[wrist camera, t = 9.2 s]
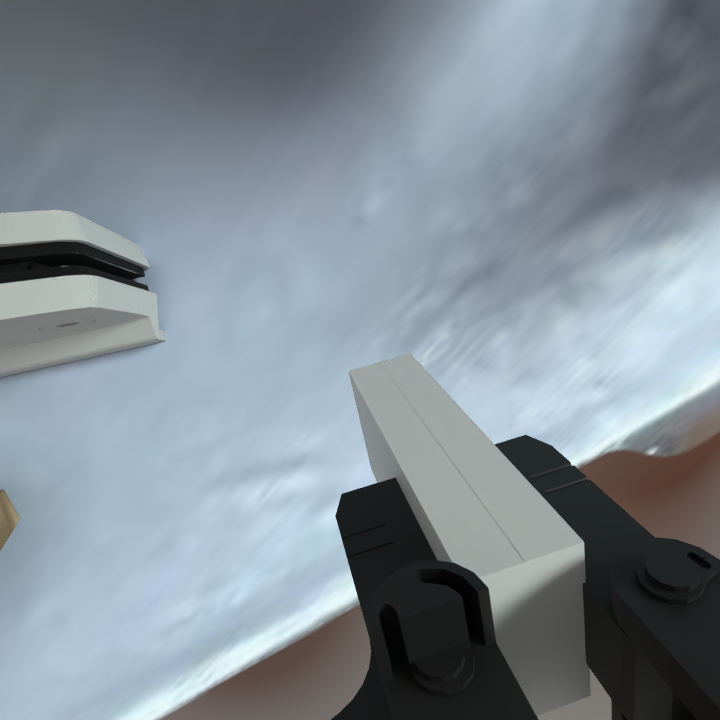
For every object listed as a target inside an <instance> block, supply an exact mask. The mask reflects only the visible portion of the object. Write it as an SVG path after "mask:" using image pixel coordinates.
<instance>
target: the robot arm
mask: <svg viewBox="0 0 720 720" xmlns="http://www.w3.org/2000/svg"><path fill="white" fill-rule="evenodd" d="M349 375H350V379H351V383H352V387H353V392H354V396H355V400H356V405H357V409H358V413H359V418H360V422H361V426H362V431H363V435H364V439H365V443H366V448H367V452H368V456H369V461H370V465H371V469H372V471H373V474H374V476H375V478H376V480H377V483H376V484H372V485H369V486H366V487H363V488H360V489H356V490H353V491H350V492H347V493H343V494H342V495H341V499H340V502H339V506H338V509H337V513H336V519H337V523H338V527H339V530H340V534H341V537H342V541H343V545H344V548H345V552H346V556H347V559H348V563H349V566H350V570H351V574H352V577H353V581H354V584H355V588H356V592H357V595H358V599H359V602H360V606H361V609H362V613H363V617H364V620H365V624H366V627H367V631H368V634H369V638H370V645H371V658H370V666H369V670H368V672H367V675H366V678H365V680H364V683H363V685H362V686H361V688H360V689H359V691H358V693H357V694H356V696H355V697H354V698H353V700H352V701H351V702H350V703H349V704H348V705H347V706H346V707H345V708H344V709H343V710H342V711H341V712H340V713H339V714H338V715H336V716H335V717H334V718H332V719H331V720H538V718H537V716H538V715H541V714H544V713H546V712H548V711H551V710H554V709H556V708H559V707H562V706H564V705H567V704H569V703H572V702H575V701H577V700H580V699H582V698H585V697H587V696H590V695H591V694H590V673H589V672H590V671H589V668H590V669H591V670H592V672H593V673H594V675H595V676H596V678H597V679H598V680H599V682H600V683H601V685H602V686H603V687H604V689H605V690H606V692H607V693H608V695H609V696H610V698H611V702H612V720H720V560H719V559H718V558H716V557H714V556H713V555H711V554H709V553H708V552H706V551H705V550H703V549H701V548H700V547H696V546H694V545H691V544H688V543H685V542H681V541H679V540H676V539H666V538H655V537H654V536H653V535H651V534H650V533H649V532H648V531H647V530H646V529H645V528H644V527H642V526H641V525H640V524H639V523H638V522H637V521H635V519H633V518H632V517H631V516H630V515H629V514H628V513H627V512H626V511H625V510H623V509H622V508H621V507H620V506H619V505H618V504H617V503H615V502H614V501H613V500H612V499H611V498H610V497H609V496H608V495H606V494H605V493H604V492H603V491H602V490H601V489H600V488H599V487H597V486H596V485H595V484H594V483H593V482H592V481H591V480H587V478H586V476H585V475H584V474H583V473H582V472H580V470H578V469H577V468H576V467H575V466H571V463H570V462H569V461H568V460H567V459H566V458H565V457H564V456H563V455H562V454H560V453H559V452H558V451H557V450H556V449H555V448H554V447H553V446H551V445H549V444H546V443H544V442H542V441H539V440H537V439H534V438H532V437H530V436H527V435H524V436H521V437H517V438H514V439H511V440H508V441H505V442H501V443H498V444H495V445H494V444H493V443H492V441H491V440H490V439H489V438H488V437H487V436H486V435H485V434H484V433H483V432H482V431H481V429H480V428H479V427H478V426H477V425H476V424H475V423H474V422H473V421H472V420H471V419H470V418H469V416H468V415H467V414H466V413H465V412H464V411H463V410H462V409H461V408H460V407H459V406H458V405H457V403H456V402H455V401H454V400H453V399H452V398H451V397H450V396H449V395H448V394H447V393H446V392H445V390H444V389H443V388H442V387H441V386H440V385H439V384H438V383H437V382H436V381H435V380H434V379H433V377H432V376H431V375H430V374H429V373H428V372H427V371H426V370H425V369H424V368H423V367H422V365H421V364H420V363H419V362H418V361H417V360H416V359H415V358H414V357H413V356H412V355H411V354H408V355H404V356H400V357H397V358H393V359H390V360H386V361H383V362H379V363H375V364H372V365H368V366H365V367H361V368H358V369H354V370H350V371H349Z"/></svg>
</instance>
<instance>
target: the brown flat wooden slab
mask: <svg viewBox="0 0 720 720" xmlns="http://www.w3.org/2000/svg"><path fill="white" fill-rule="evenodd" d="M19 520H20V518H19V516H18V514H17V512H16V511H15V509H14V507H13V505H12V504H11V502H10V500H9V498H8V496H7V495H6V493H5V491H4V489H3V490H0V551H1V549H2V547H3V546H4V544H5V542H6V541H7V539H8V538H9V536H10V534H11V533H12V531H13V530H14V528H15V526H16V525H17V523H18V522H19Z"/></svg>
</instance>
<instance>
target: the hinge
mask: <svg viewBox="0 0 720 720" xmlns="http://www.w3.org/2000/svg"><path fill="white" fill-rule="evenodd" d="M146 268H150V265H149V263H148V261H147V259H146V257H145V255H144V253H143V251H142V250H141V248H140V246H139V245H138V244H136V243H134V242H132V241H130V240H128V239H126V238H124V237H122V236H120V235H118V234H116V233H114V232H112V231H110V230H108V229H106V228H104V227H102V226H100V225H98V224H96V223H94V222H92V221H90V220H88V219H86V218H84V217H82V216H80V215H78V214H76V213H73V212H70V211H63V210H41V211H24V212H8V213H0V377H4V376H8V375H13V374H17V373H22V372H26V371H31V370H35V369H40V368H44V367H49V366H54V365H58V364H63V363H67V362H72V361H76V360H81V359H85V358H90V357H94V356H99V355H104V354H108V353H113V352H117V351H122V350H126V349H131V348H135V347H140V346H144V345H149V344H154V343H158V342H163V341H166V337H165V331H162V330H159V322H158V302H157V293H154V292H150V291H149V290H148V286H147V285H144V284H141V283H138V282H134V281H131V280H129V279H134V278H139V277H144V276H145V274H144V270H143V269H146Z"/></svg>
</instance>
